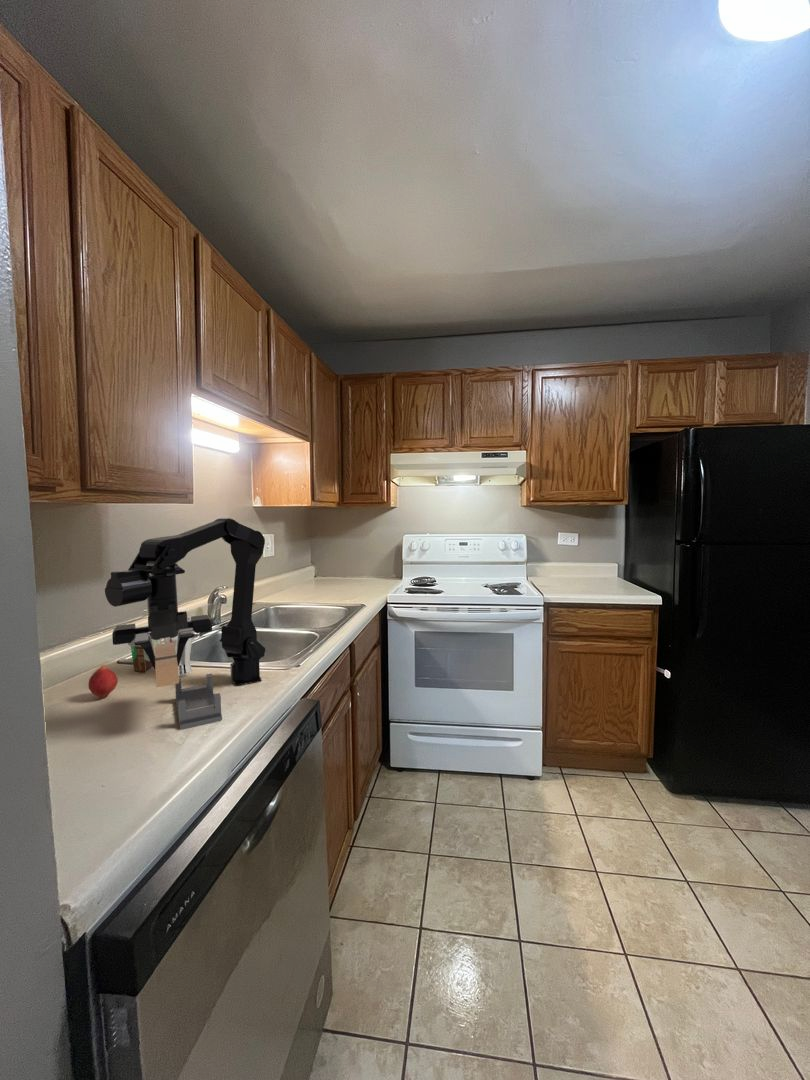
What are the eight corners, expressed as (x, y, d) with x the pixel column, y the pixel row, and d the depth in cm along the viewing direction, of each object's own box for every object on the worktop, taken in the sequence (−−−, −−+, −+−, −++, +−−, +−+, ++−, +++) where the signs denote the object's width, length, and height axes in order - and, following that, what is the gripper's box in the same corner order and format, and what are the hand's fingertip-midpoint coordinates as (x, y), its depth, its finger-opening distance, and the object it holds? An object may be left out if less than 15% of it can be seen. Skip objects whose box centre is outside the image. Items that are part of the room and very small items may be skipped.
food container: (142, 661, 137) (140, 628, 137) (163, 660, 138) (162, 627, 137) (119, 675, 125) (118, 639, 124) (143, 675, 125) (141, 639, 125)
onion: (101, 703, 106) (99, 670, 106) (83, 700, 108) (81, 667, 108) (123, 694, 112) (122, 662, 111) (106, 691, 114) (104, 660, 113)
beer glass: (162, 679, 122) (160, 623, 121) (169, 670, 129) (166, 618, 128) (191, 676, 124) (189, 621, 123) (195, 668, 131) (193, 616, 130)
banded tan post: (175, 658, 109) (174, 641, 108) (179, 683, 93) (178, 663, 92) (155, 662, 107) (154, 644, 106) (155, 688, 91) (154, 667, 90)
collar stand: (211, 692, 113) (210, 672, 112) (222, 720, 97) (221, 697, 97) (175, 698, 109) (174, 678, 108) (180, 729, 93) (179, 705, 93)
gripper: (107, 609, 87) (113, 689, 88) (213, 598, 96) (216, 670, 97) (112, 599, 97) (117, 671, 98) (207, 590, 106) (211, 656, 107)
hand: (166, 667), depth 100 cm, fingers closed on banded tan post, 4 cm apart
